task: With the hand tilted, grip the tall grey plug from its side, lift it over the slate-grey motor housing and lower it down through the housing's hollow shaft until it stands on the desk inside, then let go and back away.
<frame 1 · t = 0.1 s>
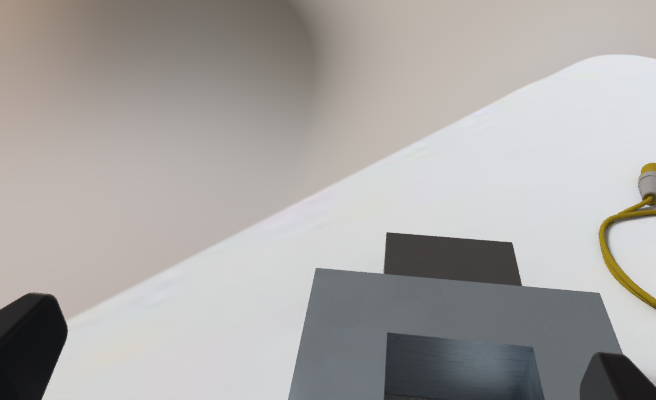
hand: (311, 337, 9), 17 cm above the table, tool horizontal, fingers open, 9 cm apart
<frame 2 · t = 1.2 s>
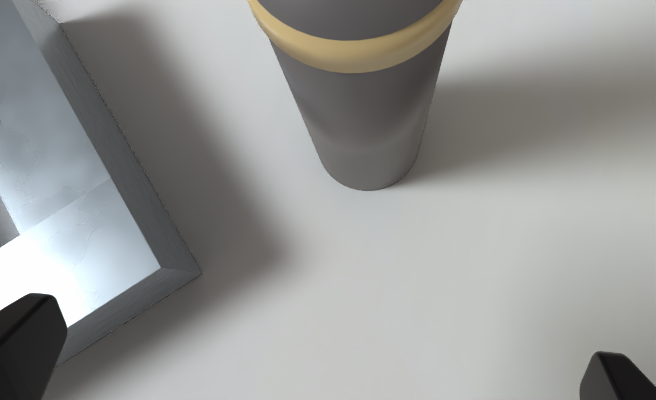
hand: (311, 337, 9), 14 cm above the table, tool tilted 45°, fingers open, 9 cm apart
plug: (367, 140, 24), on the table
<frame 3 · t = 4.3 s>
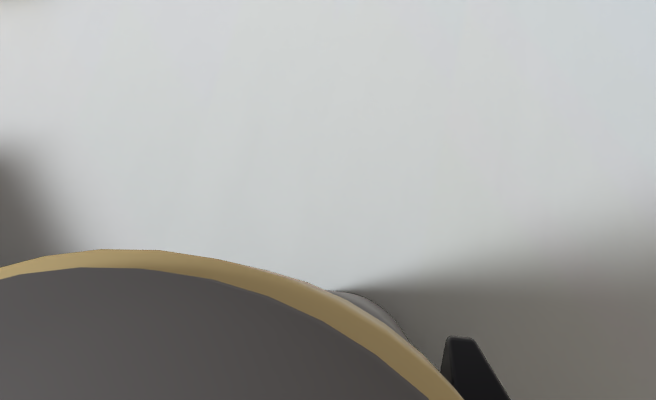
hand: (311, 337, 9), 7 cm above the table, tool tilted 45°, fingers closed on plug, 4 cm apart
plug: (336, 368, 16), on the table, touching gripper
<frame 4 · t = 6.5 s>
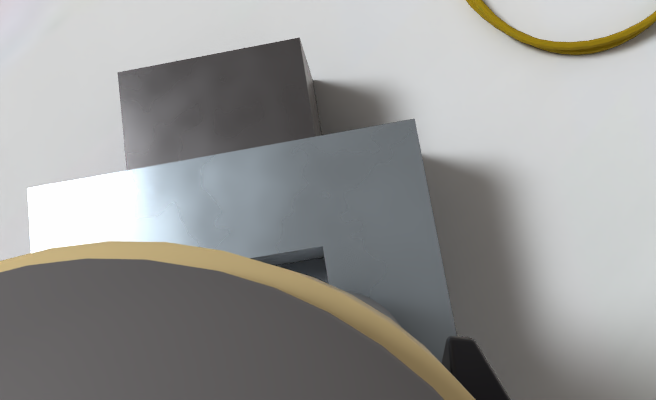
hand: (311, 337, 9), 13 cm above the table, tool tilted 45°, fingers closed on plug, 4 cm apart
motor housing: (268, 345, 22), on the table
plug: (337, 367, 16), point 6 cm above the table, touching gripper
when the fingers open (8 cm above the table, at t = 8.9 s): plug stays where it is, resting in motor housing.
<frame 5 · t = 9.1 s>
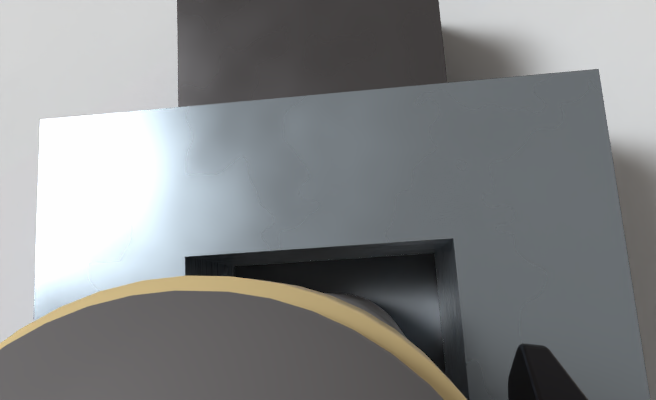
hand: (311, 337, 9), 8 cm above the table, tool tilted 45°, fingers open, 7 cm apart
motor housing: (338, 364, 17), on the table
plug: (338, 366, 17), resting in motor housing
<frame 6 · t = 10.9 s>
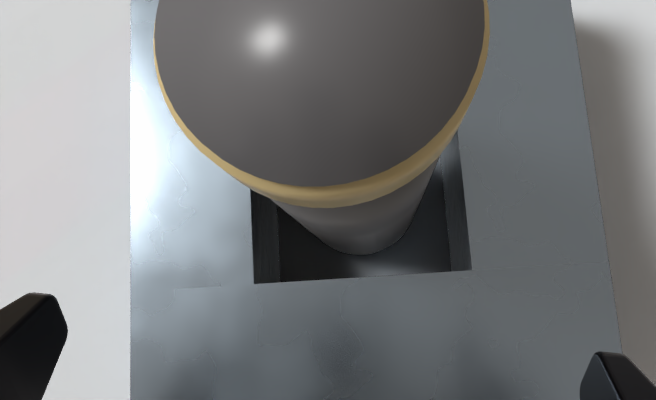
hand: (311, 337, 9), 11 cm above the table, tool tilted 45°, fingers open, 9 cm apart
motor housing: (359, 196, 21), on the table
plug: (359, 197, 21), resting in motor housing
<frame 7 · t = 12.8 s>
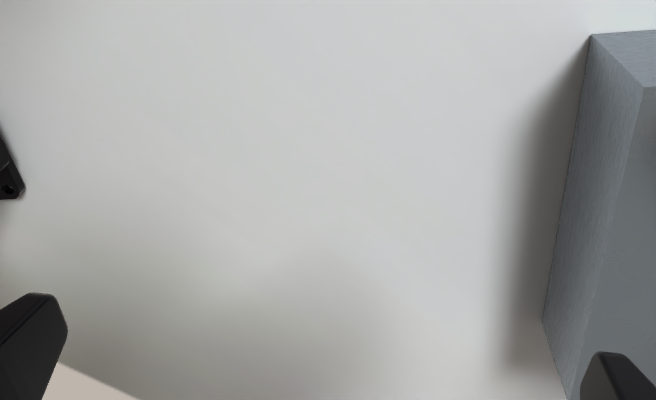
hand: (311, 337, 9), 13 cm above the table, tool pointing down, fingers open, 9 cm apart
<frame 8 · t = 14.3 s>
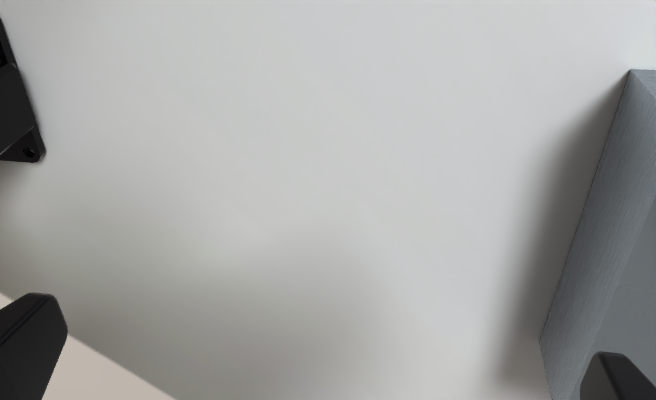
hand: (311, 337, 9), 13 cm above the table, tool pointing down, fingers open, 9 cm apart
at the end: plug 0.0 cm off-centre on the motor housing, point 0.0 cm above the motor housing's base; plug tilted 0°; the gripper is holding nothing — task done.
